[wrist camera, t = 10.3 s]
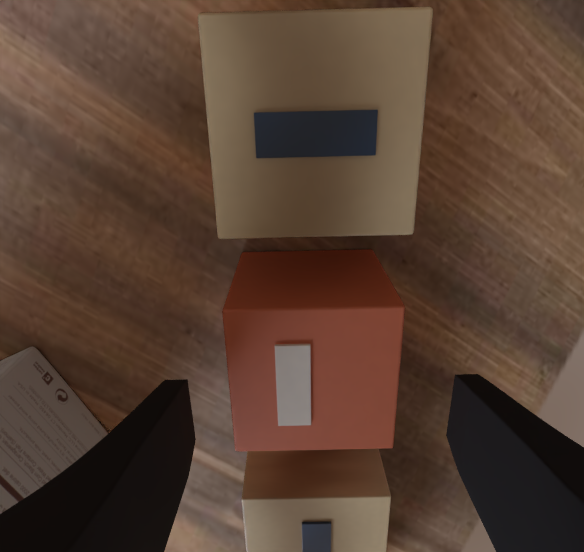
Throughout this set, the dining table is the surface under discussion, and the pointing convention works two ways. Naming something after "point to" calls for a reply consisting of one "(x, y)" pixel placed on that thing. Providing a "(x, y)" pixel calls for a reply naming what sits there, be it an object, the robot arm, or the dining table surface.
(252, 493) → the beech block
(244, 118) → the beech block
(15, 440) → the white packaging box
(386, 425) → the terracotta block
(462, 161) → the dining table surface
